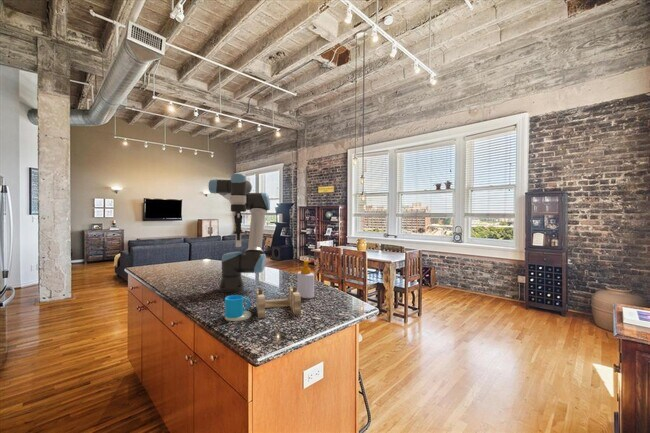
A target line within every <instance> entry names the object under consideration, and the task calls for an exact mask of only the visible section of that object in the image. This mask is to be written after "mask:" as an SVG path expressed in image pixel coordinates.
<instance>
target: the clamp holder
mask: <svg viewBox="0 0 650 433" xmlns="http://www.w3.org/2000/svg"><path fill="white" fill-rule="evenodd" d="M255 292H256V295H255V296H256V297H255V300H256V302H255V303H256V304H255V306H256V313H257V317H258V319H264V318H266V308H267V309H268V308H280V307H290V308H291V310H292V312H293V314H294V315H301V314H302V312H301V311H302V297H301V295H300V293H299V292H298V291H297V286H289V287H288V298H279V299H266V297H265V294H264V290H263V288H258V289H256V290H255Z"/></svg>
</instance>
